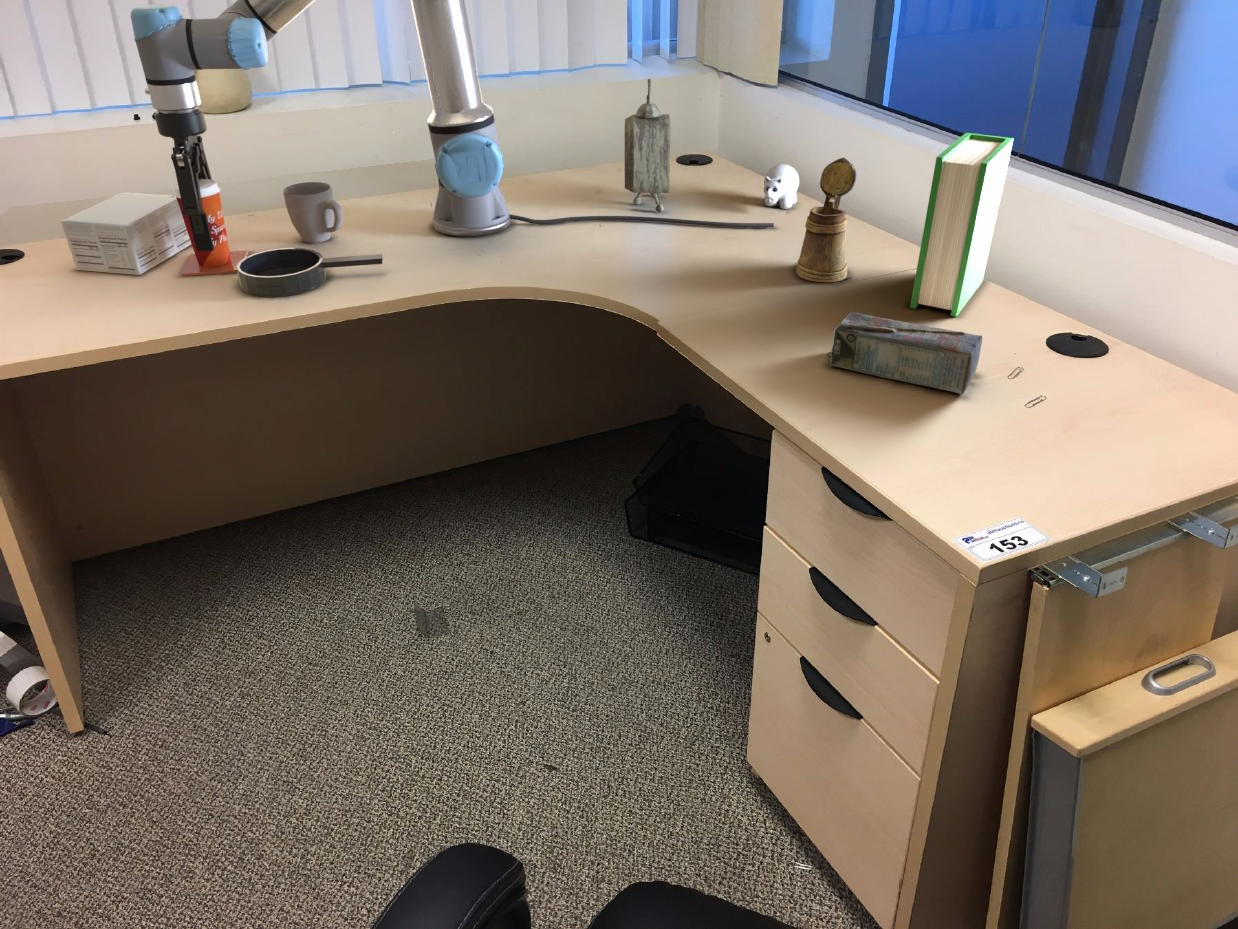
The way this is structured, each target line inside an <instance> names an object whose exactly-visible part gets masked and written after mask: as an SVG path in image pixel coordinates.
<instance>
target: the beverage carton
mask: <svg viewBox="0 0 1238 929" xmlns="http://www.w3.org/2000/svg"><path fill="white" fill-rule="evenodd" d="M982 343H983V335H981V334H980V335H978V334H973V333H969V332H964V331H956V330H952V329H944V328H940V327H934V326H929V325H923V324H918V323H917V324H916V323H911V322H907V321H906V322H905V321H900V320H896V319H891V318H886V317H885V318H884V317H879V316H874V315H869V314H864V313H861V312H860V313H859V312H855V311H851V312H850V313H848V315H847V316H846V317H845V318H844V319H843V320H842V321H841V322H840V323H839V324H838V325H837V327H835V329H834V331H833V342H832V347H831V353H830V366H831V367H836V368H841V369H845V370H850V371H854V372H858V373H861V374H866V375H871V376H876V377H880V378H885V379H889V380H895V381H899V382H905V383H910V384H914V385H920V386H924V387H928V388H933V389H939V390H942V391H948V392H952V393H955V394H959V395H963V394H964V393H965V391H966V390H967V388H968V386H969V384H970V383H971V381H972V380H973V378H974V376H975V375H976V372H977V368H978V365H979V362H980V355H981V351H982Z"/></svg>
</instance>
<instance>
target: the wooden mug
mask: <svg viewBox="0 0 1238 929" xmlns="http://www.w3.org/2000/svg"><path fill="white" fill-rule="evenodd" d="M856 182H857V171H856V168H855V166H854V165H853V163H852V162H850V161H849V160H848V159H847V158H846V157H840V158H838V159H836V160H834V161H832V162H830V163H829V164H827V165H826V166H825V167H824V168H823V171H822V173H821V175H820V181H819V186H820V189H821V191H822V192H823V194H824V195H825V199H824V204H823V206H814V207H811V208H810V209H809V210H810V211H809V214H808V216H807V217H806V221H805V226H804V227H805V232H804V233H805V234H804V238H803V242H802V245H801V250H800V254H799V257H798V259H797V262H796V270H795V271H796V272H795V273H796V275H797V276H798V277H800V278H802V279H803V280H807V281H810V282H816V283H835V282H840V281H843V280H844V279H846V278H847V276H848V264H847V260H846V258H847V257H846V254H847V253H846V252H847V251H846V229H847V228H848V219H847V216H846V213H847V212H846V210H844V209H841V208H839V207H840V203H841V198H842V197H843V196H846V195H847V194H848V193H850V192H852V190H853V189H854V187H855V185H856Z"/></svg>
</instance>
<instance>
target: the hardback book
mask: <svg viewBox="0 0 1238 929" xmlns="http://www.w3.org/2000/svg"><path fill="white" fill-rule="evenodd" d="M1014 140H1015V139H1014V137H1007V136H999V135H998V136H997V135H989V134H982V133H981V134H980V133H972V132H965V133H964V134H962V135H961V136H960V137H959V138H958V139H957V140H955V141H954V142H953V143H952V144H950V146H948V147H947V148H946V149H944V150H943V151H942V152H941V153H939V155H937V156H936V158H935V164H934V170H933V175H932V181H931V187H930V192H929V196H928V197H929V198H928V203H927V209H926V214H925V220H924V226H923V231H922V237H921V243H920V248H919V255H918V260H917V265H916V272H915V277H914V282H913V287H912V288H913V289H912V293H911V300H910V304H909V308H911V309H917V308H918V307H919V306H920V305H923V306H928V307H934V308H938V309H943V310H948V311H951V312H950V314H949V316H950V317H954V318H957V317H958V315H959V314H960V313H961V311H962V310H963V309H964V307H965V306H966V304H967V303H968V302H969V301H970V299H971V298H972V296H973V295H974V294H975V293H976V291H977V290H978V289H979V287H980V286H981V285H982V283H983V281H984V278H985V277H984V276H985V273H986V272H985V271H986V267H987V263H988V259H989V253H990V249H991V244H992V240H993V236H994V230H995V225H996V222H997V217H998V212H999V207H1000V203H1001V199H1002V194H1003V190H1004V185H1005V181H1006V176H1007V171H1008V166H1009V161H1010V157H1011V152H1012V149H1013V143H1014Z"/></svg>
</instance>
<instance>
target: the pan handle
mask: <svg viewBox="0 0 1238 929" xmlns="http://www.w3.org/2000/svg"><path fill="white" fill-rule="evenodd" d="M383 260H384V258H383V254H382V253H378V254H363V255H350V256H349V255H348V256H334V257H323V268H325V269H330V268H344V267H345V268H346V267H359V266H361V267H362V266H373V265H375V266H376V265H383V262H384V261H383Z"/></svg>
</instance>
